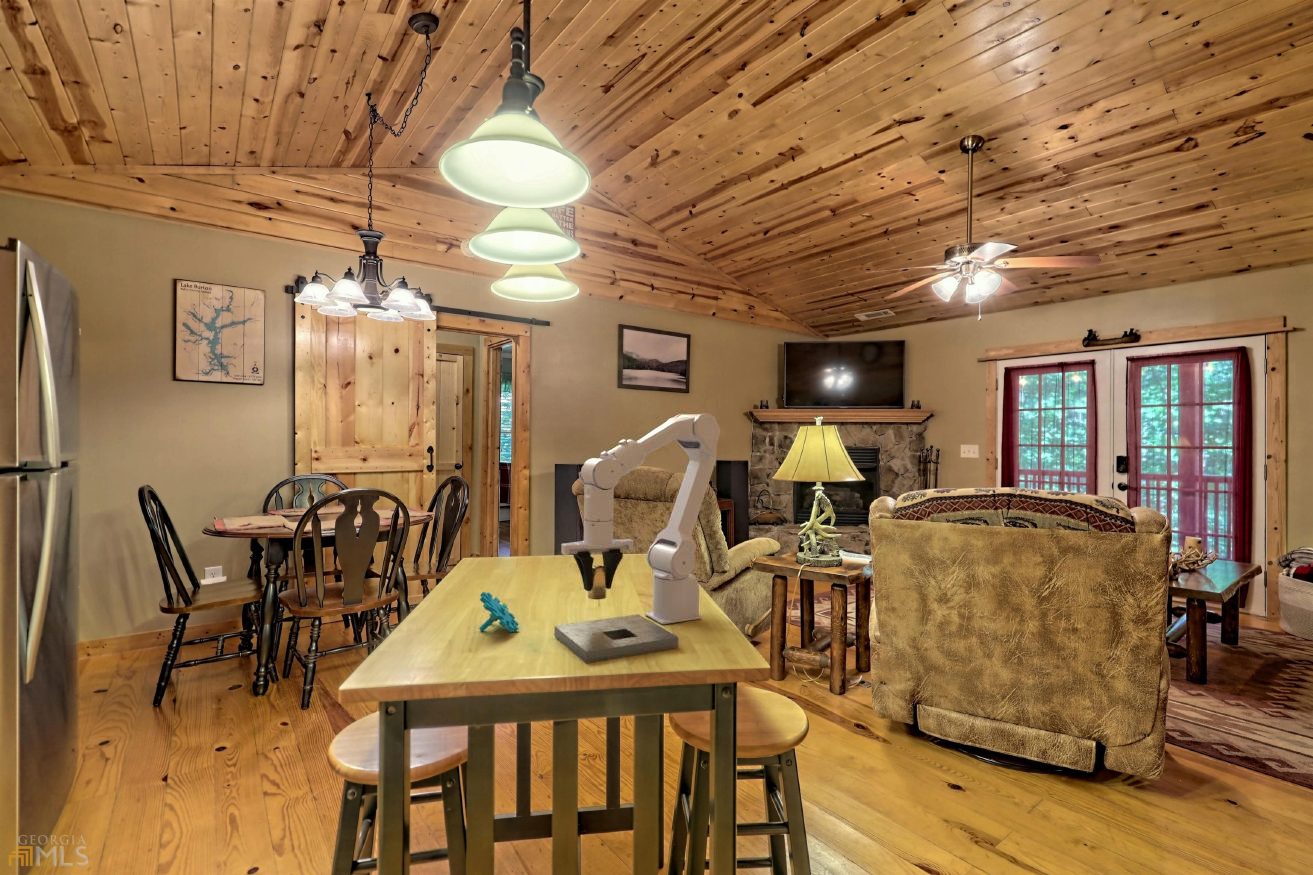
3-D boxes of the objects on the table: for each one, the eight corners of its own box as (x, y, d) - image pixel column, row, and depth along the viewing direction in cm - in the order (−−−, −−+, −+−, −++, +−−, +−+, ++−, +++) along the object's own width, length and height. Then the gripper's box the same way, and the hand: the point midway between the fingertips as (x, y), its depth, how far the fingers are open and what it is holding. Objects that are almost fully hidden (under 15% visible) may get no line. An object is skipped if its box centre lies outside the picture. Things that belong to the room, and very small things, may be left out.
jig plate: (638, 623, 130) (638, 614, 130) (678, 647, 116) (678, 636, 116) (554, 636, 121) (554, 625, 121) (586, 663, 107) (586, 651, 107)
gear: (515, 631, 118) (479, 592, 119) (491, 654, 118) (455, 614, 119) (526, 621, 129) (493, 586, 130) (505, 642, 129) (472, 606, 130)
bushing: (601, 594, 127) (602, 563, 127) (609, 598, 124) (609, 566, 124) (585, 595, 125) (585, 565, 125) (592, 600, 122) (592, 568, 122)
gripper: (623, 515, 131) (622, 580, 131) (556, 518, 124) (555, 587, 124) (638, 519, 125) (637, 588, 125) (568, 523, 118) (567, 596, 118)
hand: (597, 588), depth 124 cm, fingers closed on bushing, 4 cm apart
